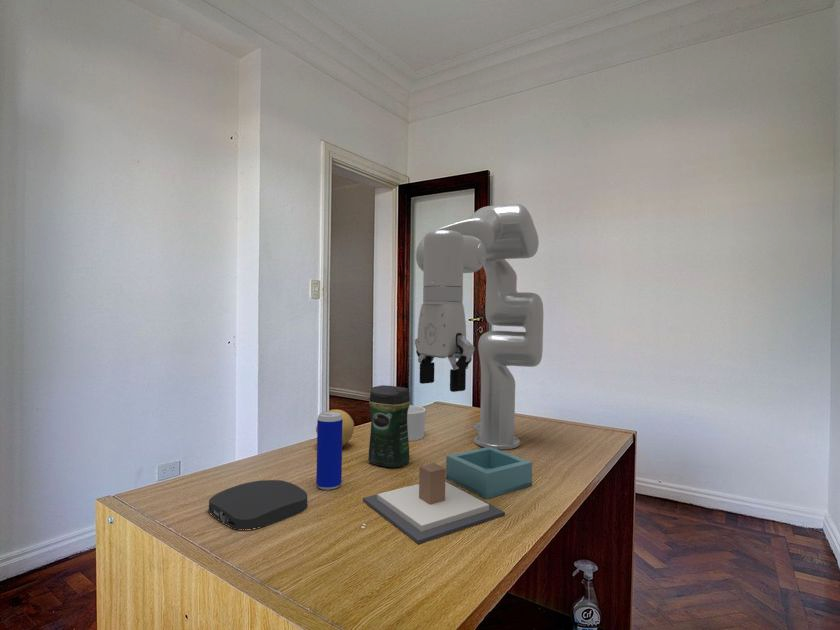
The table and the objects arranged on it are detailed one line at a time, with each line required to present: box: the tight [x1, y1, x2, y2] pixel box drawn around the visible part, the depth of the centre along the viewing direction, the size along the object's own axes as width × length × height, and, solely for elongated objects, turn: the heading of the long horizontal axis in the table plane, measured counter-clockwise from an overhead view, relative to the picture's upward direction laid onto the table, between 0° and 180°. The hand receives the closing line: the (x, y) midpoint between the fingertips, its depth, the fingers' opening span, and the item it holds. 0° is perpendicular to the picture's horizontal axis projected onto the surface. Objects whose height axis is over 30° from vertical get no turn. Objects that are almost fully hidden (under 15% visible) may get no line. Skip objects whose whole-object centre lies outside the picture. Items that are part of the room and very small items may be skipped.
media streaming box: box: [208, 479, 308, 530], centre depth 83 cm, size 15×15×3 cm
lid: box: [376, 462, 490, 532], centre depth 84 cm, size 15×15×7 cm
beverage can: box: [315, 411, 343, 491], centre depth 94 cm, size 5×5×15 cm
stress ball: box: [315, 409, 355, 447], centre depth 120 cm, size 10×10×10 cm
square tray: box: [445, 447, 533, 500], centre depth 98 cm, size 13×13×5 cm
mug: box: [407, 404, 427, 442], centre depth 133 cm, size 13×10×8 cm
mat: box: [362, 480, 506, 545], centre depth 84 cm, size 19×19×1 cm
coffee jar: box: [368, 384, 411, 468], centre depth 109 cm, size 10×8×19 cm
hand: (441, 386), depth 86 cm, fingers open, 9 cm apart
